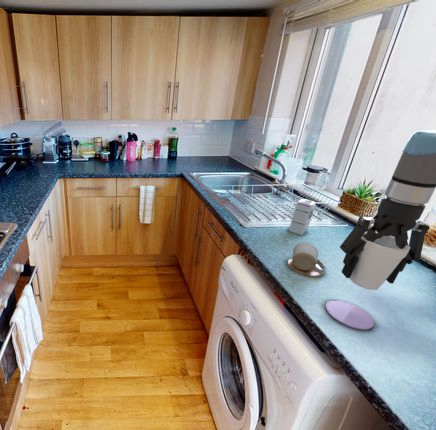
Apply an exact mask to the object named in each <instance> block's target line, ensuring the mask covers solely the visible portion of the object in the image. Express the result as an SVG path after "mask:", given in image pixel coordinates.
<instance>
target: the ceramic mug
mask: <svg viewBox="0 0 436 430" xmlns="http://www.w3.org/2000/svg"><path fill="white" fill-rule="evenodd" d="M318 257H319V251H318V248H317V247H316V246H315V245H314V244H312V243H309V242H299V243H297V244H296V245H294V247H293V250H292V257H291V259H292V261H293V264H294V265H295V267H297V268H298V269H301V270H311V269H313V270H314V271H316V272H318V273H323V274H324V272H326V270H327V269H326V266H325V264H324V263H323V262H322V261H321V260H320V259H318ZM316 264H317V265H319V267H320V268H321V269H319V268H317V267H316Z"/></svg>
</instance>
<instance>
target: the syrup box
mask: <svg viewBox="0 0 436 430" xmlns="http://www.w3.org/2000/svg"><path fill="white" fill-rule="evenodd" d="M316 204H317V201H314V200H311V199H307V198H301V199H299V200H298V201H296V204H295V208H294V211H293V215H292V218H291V220H290V225H289V228H288V231H289V232H291V233H294V234H297V235H300V236H303V235H304V234H306V233H307V232H308V229H309V226H310V223H311V219H312V217H313V213H314V210H315V207H316Z"/></svg>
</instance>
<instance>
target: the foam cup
mask: <svg viewBox="0 0 436 430" xmlns="http://www.w3.org/2000/svg"><path fill="white" fill-rule="evenodd" d="M367 232H368V231H366V233H367ZM375 232H376V233H378V232H377V231H375ZM361 239H362V240H364V241H366V244H365V246H364V248H363V249H364V250H363V251H361V252H360V253H359V254H358V255H357V256H358V257H359V259H358V261H357V264H356V266H355V268H354V270H353V272H352V274H351V277H350V278H349V280H350V281H351V282H352V283H353V284H354V285H356V286H358V287H360V288H363V289H366V290H369V291H378V290H379V289H380V287H381V286H382V285H383V284H384V283H385V282H386V281H387V280H386V279H387V278H388V277H389V275H390V274H391V273H392V272H393V270H394V269H395V268H396V266H397V265H398V264H399V263H400V261H401V260H402V259H403V258H404V257H406V255H407V253H408V252H409V250H410V246H409V244H408V245H405V247H404V248H403V249H400V248H399V247H398V246H396V242H395V237H393V236H383V237H381V238H380V239H376V240H375V241H374V242H371V241H367V240H366V239H365V238H364V237H362V238H361Z"/></svg>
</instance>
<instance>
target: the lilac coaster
mask: <svg viewBox="0 0 436 430" xmlns="http://www.w3.org/2000/svg"><path fill="white" fill-rule="evenodd" d="M325 310H326V312H327V313H328V315H329V316H330V317H332V318H333V319H334V320H335V321H337V322H338V323H340V324H342V325H344V326H346V327H349V328H352V329H355V330H359V331H368V330H371V329H372V328H373V327H374V326H375V322H374V319H373V318H372V316H371V315H370V314H369V313H368V312H367V311H365V310H364V309H362V308H361V307H359V306H357V305H355V304H352V303H350V302H346V301H342V300H330V301H327V302H326V305H325Z"/></svg>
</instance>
